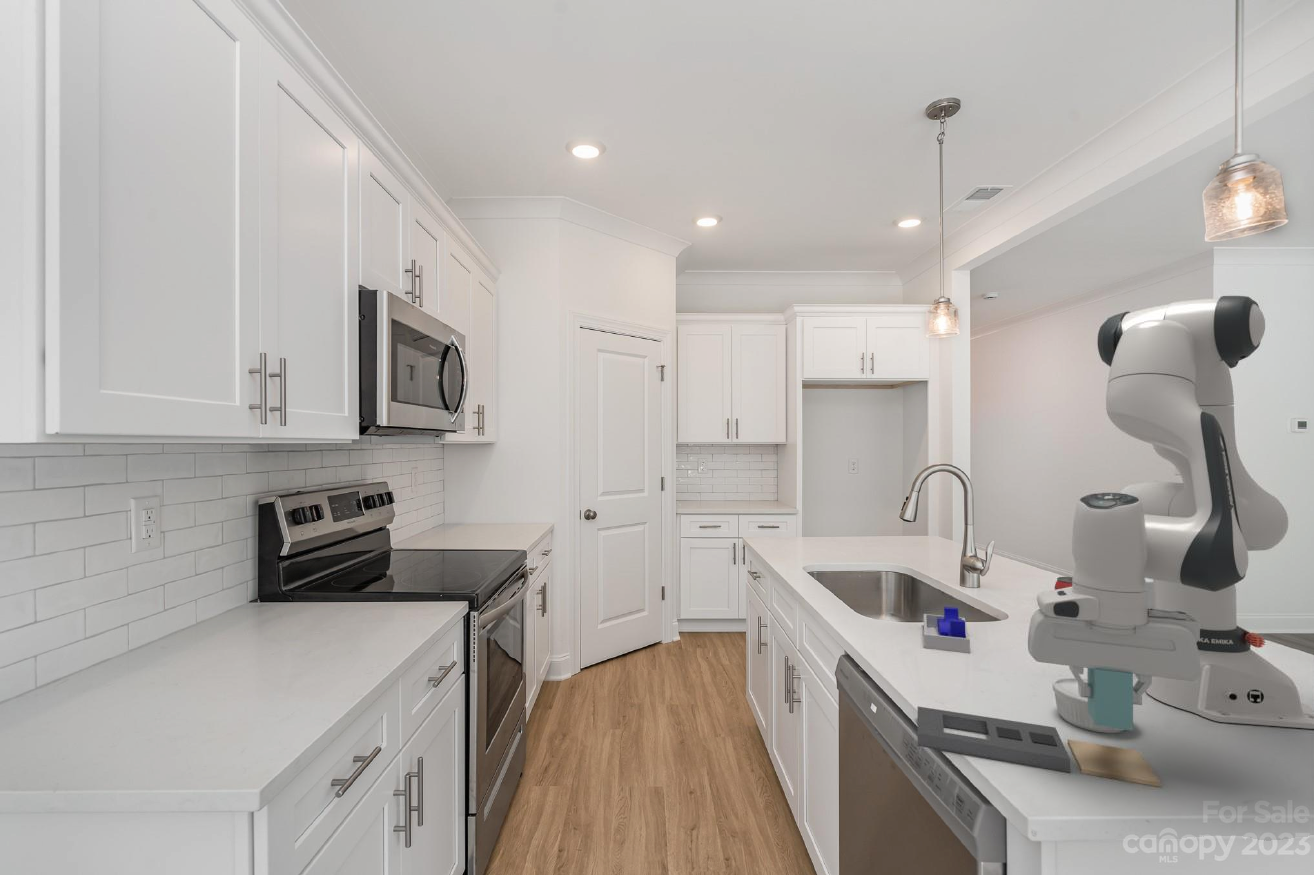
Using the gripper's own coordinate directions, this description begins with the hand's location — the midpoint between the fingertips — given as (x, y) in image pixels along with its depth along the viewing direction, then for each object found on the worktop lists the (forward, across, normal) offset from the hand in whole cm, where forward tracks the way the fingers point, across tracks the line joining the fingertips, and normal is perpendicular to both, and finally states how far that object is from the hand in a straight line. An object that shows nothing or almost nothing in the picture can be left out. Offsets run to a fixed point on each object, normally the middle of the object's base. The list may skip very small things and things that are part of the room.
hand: (1109, 699), depth 88 cm
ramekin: (+10, -1, -15) cm, 18 cm away
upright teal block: (+3, 0, 0) cm, 3 cm away
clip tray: (+9, +20, -51) cm, 56 cm away
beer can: (+9, -9, -71) cm, 72 cm away
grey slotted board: (+10, +16, 0) cm, 18 cm away
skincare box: (+9, -25, -78) cm, 83 cm away
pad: (+9, 0, 0) cm, 9 cm away
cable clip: (+10, +18, -52) cm, 56 cm away
